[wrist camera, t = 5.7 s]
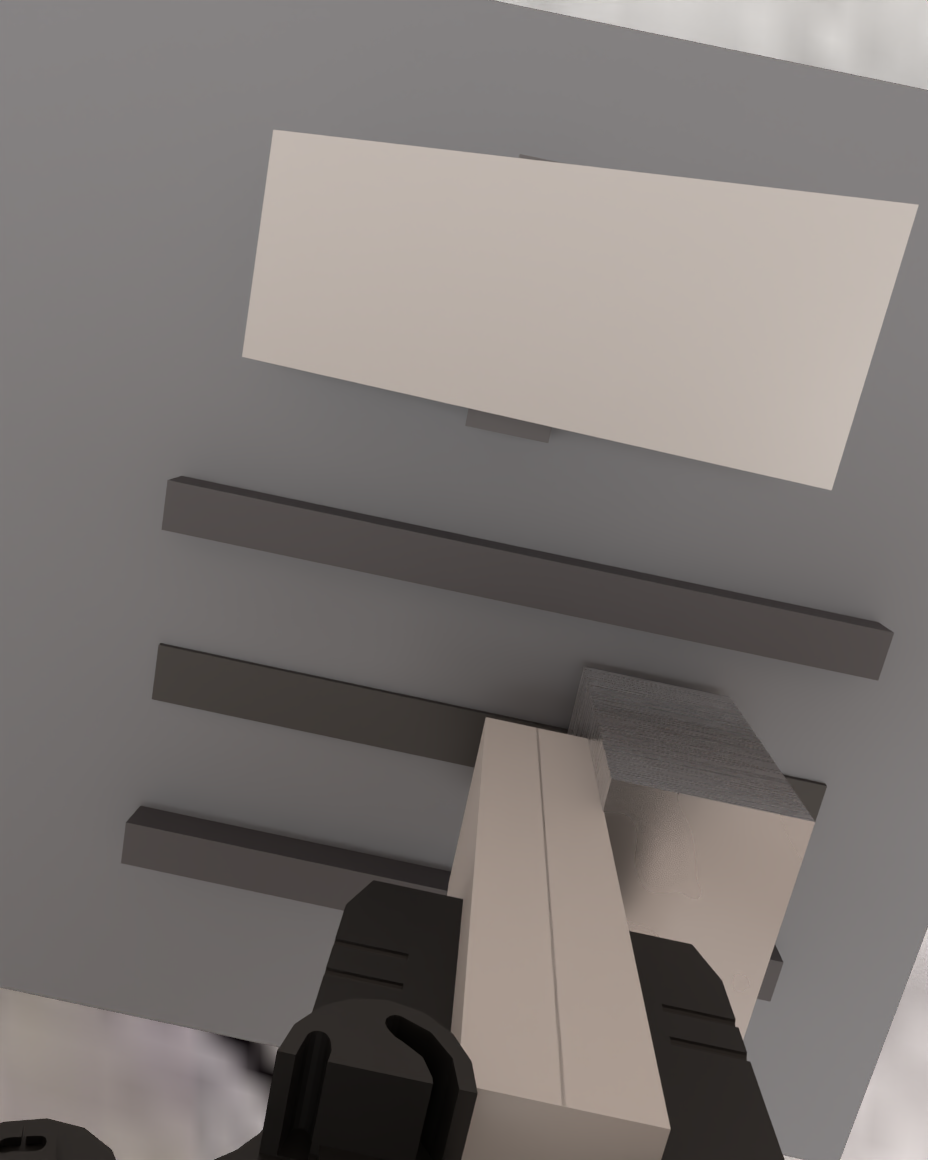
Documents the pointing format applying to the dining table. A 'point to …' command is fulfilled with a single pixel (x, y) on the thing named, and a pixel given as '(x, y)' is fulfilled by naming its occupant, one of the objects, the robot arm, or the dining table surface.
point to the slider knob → (694, 822)
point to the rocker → (579, 296)
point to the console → (410, 523)
